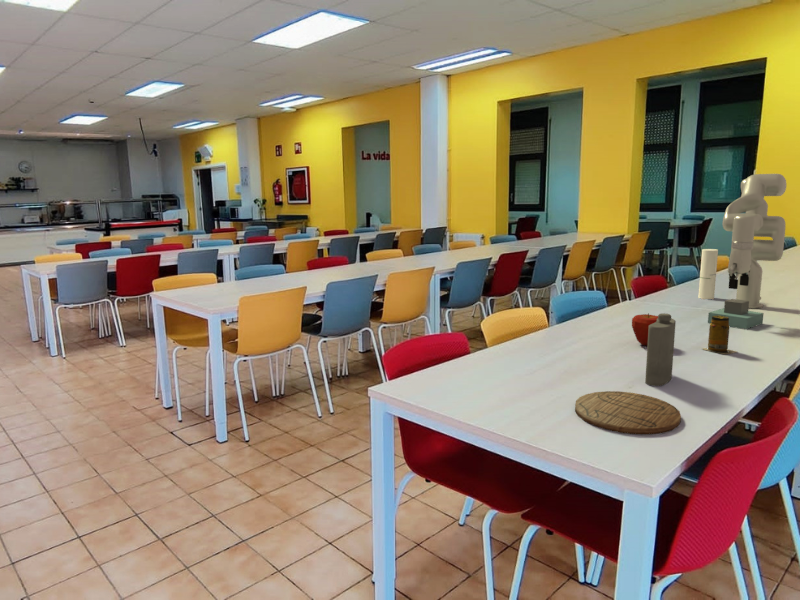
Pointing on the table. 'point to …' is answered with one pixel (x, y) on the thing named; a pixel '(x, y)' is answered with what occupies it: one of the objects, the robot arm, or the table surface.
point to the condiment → (719, 335)
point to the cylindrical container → (708, 273)
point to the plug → (736, 306)
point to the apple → (642, 326)
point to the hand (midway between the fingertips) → (738, 287)
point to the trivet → (627, 412)
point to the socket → (739, 318)
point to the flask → (660, 350)
